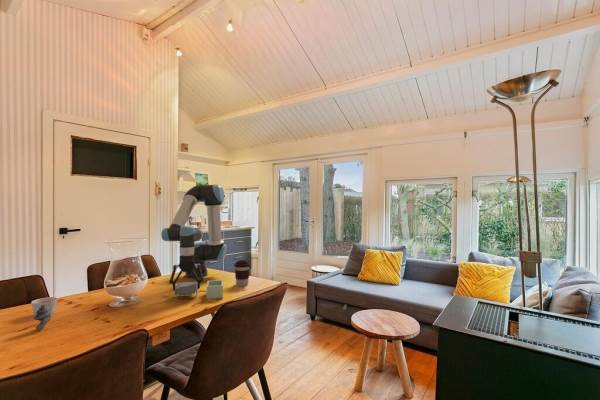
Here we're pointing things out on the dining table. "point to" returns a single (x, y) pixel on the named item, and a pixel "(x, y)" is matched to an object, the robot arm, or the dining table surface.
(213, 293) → the box
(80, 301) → the dining table surface
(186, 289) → the lid
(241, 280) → the coffee cup
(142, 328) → the dining table surface
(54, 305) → the grey bowl
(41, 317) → the seashell
